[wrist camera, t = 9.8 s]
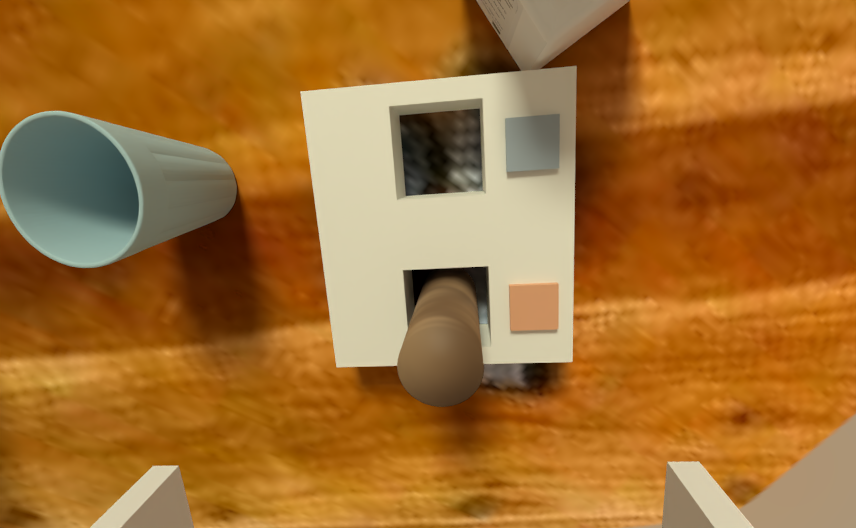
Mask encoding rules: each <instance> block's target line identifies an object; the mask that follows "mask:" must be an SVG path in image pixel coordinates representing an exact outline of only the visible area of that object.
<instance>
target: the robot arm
mask: <svg viewBox="0 0 856 528" xmlns="http://www.w3.org/2000/svg"><path fill="white" fill-rule="evenodd" d="M90 528H194V526H193V522H192V518H191V514H190V510H189V505H188V501H187V497H186V493H185V489H184V485H183V481H182V477H181V473H180V469H179V466H153V467H152V468H151V469H150V470H149V471H148V472H147V473H146V474H144V475H143V476H142V477H141V478H140V479H139V480H138V481H137V482H136V483H135V484H134V485H133V486H132V487H131V488H130V489H129V490H128V491H127V492H126V493H125V494H124V495H123V496H122V497H121V498H120V499H119V500H118V501H117V502H116V503H115V504H114V505H113V506H112V507H111V508H110V509H109V510H108V511H107V512H106V513H105V514H103V515H102V516H101V517H100V518H99V519H98V520H97V521H96V522H95V523H94V524H93V525H92V526H91V527H90ZM662 528H754V527H753V526H752V525H751V524H750V523H749V521H748V520H747V519H746V518H745V517H744V515H743V514H742V513H741V512H740V510H739V509H738V508H737V507H736V506H735V504H734V503H733V502H732V501H731V500H730V498H729V497H728V496H727V495H726V494H725V492H724V491H723V490H722V489H721V488H720V486H719V485H718V484H717V483H716V482H715V480H714V479H713V478H712V477H711V475H710V474H709V473H708V472H707V471H706V469H705V468H704V467H703V466H702V465H701V463H700V462H667V471H666V483H665V496H664V509H663V521H662Z"/></svg>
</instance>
